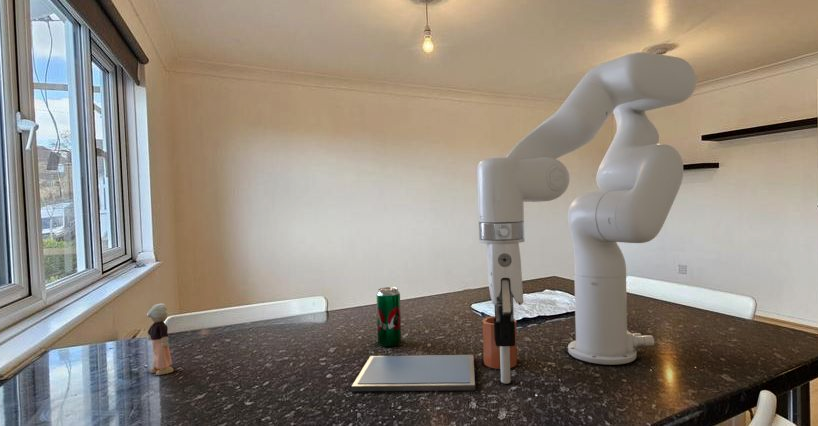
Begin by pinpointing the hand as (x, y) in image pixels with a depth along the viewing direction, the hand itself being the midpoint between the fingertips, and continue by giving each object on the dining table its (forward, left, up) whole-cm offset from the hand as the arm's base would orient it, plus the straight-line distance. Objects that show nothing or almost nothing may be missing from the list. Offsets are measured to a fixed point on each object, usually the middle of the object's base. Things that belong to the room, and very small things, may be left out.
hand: (504, 342), depth 71 cm
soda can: (+23, -21, -7) cm, 32 cm away
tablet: (+15, -4, -7) cm, 17 cm away
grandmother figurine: (+64, -7, -7) cm, 65 cm away
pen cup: (0, -9, -7) cm, 11 cm away
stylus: (0, 0, -7) cm, 7 cm away
